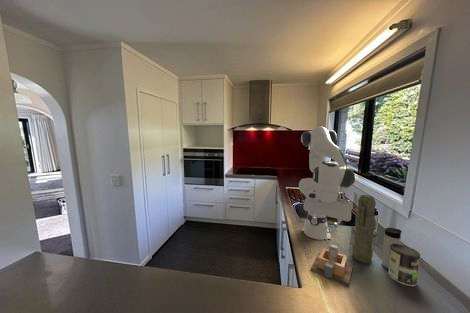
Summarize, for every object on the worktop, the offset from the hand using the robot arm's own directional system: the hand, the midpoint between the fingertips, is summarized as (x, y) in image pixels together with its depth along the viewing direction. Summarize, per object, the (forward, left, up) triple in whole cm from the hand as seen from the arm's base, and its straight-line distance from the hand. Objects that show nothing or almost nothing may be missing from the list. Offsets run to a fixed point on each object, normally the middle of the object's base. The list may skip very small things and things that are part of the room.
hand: (324, 224), depth 88 cm
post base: (-6, +4, -24) cm, 25 cm away
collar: (-4, +4, -22) cm, 23 cm away
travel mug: (-28, +27, -24) cm, 45 cm away
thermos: (-27, +15, -24) cm, 39 cm away
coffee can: (-21, +31, -24) cm, 44 cm away
